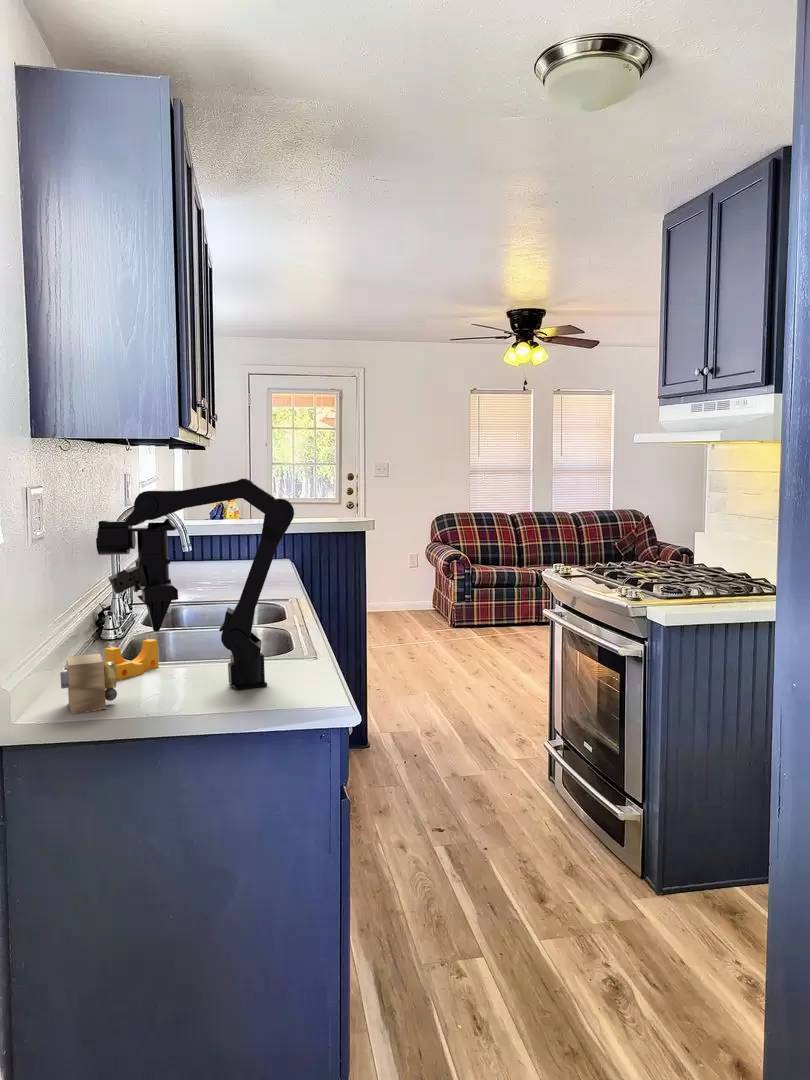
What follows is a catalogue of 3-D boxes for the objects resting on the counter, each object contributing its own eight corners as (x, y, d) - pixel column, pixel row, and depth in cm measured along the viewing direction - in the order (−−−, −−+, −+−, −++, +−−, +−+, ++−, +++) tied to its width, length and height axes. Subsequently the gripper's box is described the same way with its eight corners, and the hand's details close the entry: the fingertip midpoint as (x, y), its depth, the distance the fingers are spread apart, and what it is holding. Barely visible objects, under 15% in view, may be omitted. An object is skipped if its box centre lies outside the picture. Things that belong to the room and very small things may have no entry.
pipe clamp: (118, 680, 177) (117, 650, 177) (106, 678, 180) (104, 648, 179) (163, 669, 187) (162, 640, 187) (151, 666, 190) (150, 638, 189)
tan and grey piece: (115, 696, 161) (113, 658, 161) (118, 702, 157) (116, 664, 156) (61, 703, 157) (59, 664, 157) (62, 709, 153) (60, 669, 152)
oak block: (102, 699, 162) (99, 653, 161) (105, 709, 155) (103, 661, 154) (68, 703, 159) (66, 656, 159) (71, 714, 152) (68, 665, 151)
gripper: (105, 552, 171) (109, 627, 172) (115, 560, 154) (119, 643, 156) (161, 549, 176) (164, 622, 177) (176, 556, 159) (180, 637, 160)
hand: (156, 631), depth 167 cm, fingers closed
